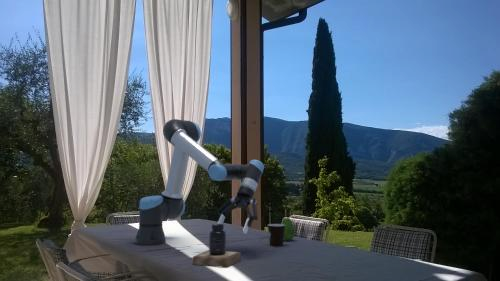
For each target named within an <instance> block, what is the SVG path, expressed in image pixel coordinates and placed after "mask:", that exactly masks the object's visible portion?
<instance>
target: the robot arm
mask: <svg viewBox="0 0 500 281" xmlns="http://www.w3.org/2000/svg"><path fill="white" fill-rule="evenodd" d="M162 135H163V136H164V139H165V140H166V141H167V142H168V143H169V144H171V145H172V146H173V152H172V157H171V161H170V167H169V171H168V175H167V180H166V185H165V189H164V190H163V191H162V192H161V194H160V195H151V196H150V195H149V196H144V197H142V198H140V200H139V206H138V208H139V212H138V213H139V218H138V223H139V224H138V230H137V233H136V235H135V242H134V243H135V244H136V245H142V246H143V245H144V246H152V245H153V246H154V245H162V244H165V243H166V241H167V240H166V235H165V231H164V227H163V221H165V220H174V219H178V218H180V217H181V216H182V215H183V214H184V212H185V208H186V203H185V200H184V195H183V194H182V191H183V190H182V189H183V184H184V181H185V176H186V172H187V169H188V168H187V166H188V162H189V157H190V158H191V159H192V160H193V161H194V162H196V163H197V164H198V165H199V166H200V167H202V168H203V169H204V170H205V171H207V174H208V176H209V178H210V179H211V180H213V181H216V182H220V181H221V182H222V181H241V183H240V185H239V188H238V191H237V193H236V196H235V197H234V196H232V195H230V196H229V197H228V199H227V200H226V201H225V202H224V203H223V204H222V205H221V206H220V207H219V208H218V209H217V211H216V213H217V214H218V218H217V223H216V224H223V223H224V221H225V218H226V215H228V214H229V213H230V212H232V211H233V210H235V209H238V208H239V209H245V210H246V212H247V215H248V217H247V218H246V220H245V223H244V227H243V229H242V232H243V234H244V235H247V233H248V231H249V228H250V227H252V224H253V221H258V220H259V215H258V208H257V205H258V201H257V200H256V198H254V195H255V193H256V190H257V188H258V185H259V182H260V181H261V178H262V175H263V172H264V169H265V165H264V163H263V162H262V161H260V160H258V159H251V160H250V161H249V163H248V164H235V163H230V164H225V163H223V162H222V161H220V160H219V159H218V158H217V157H215V155H214V154H212V153H211V152H209V151H208V150H207V149H205V147H203V146H202V145H201V144H199V143H198V142H199V141H200V138H202V137H201V136H202V132H201V127H200V126H199V124H197V123H196V122H195V121H191V120H185V119H176V118H174V119H170V120H168V121H166V122H165V124H164V125H163V128H162ZM249 205H252V206H251V207H252V211H251V209H250V206H249ZM223 225H224V224H223Z"/></svg>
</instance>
